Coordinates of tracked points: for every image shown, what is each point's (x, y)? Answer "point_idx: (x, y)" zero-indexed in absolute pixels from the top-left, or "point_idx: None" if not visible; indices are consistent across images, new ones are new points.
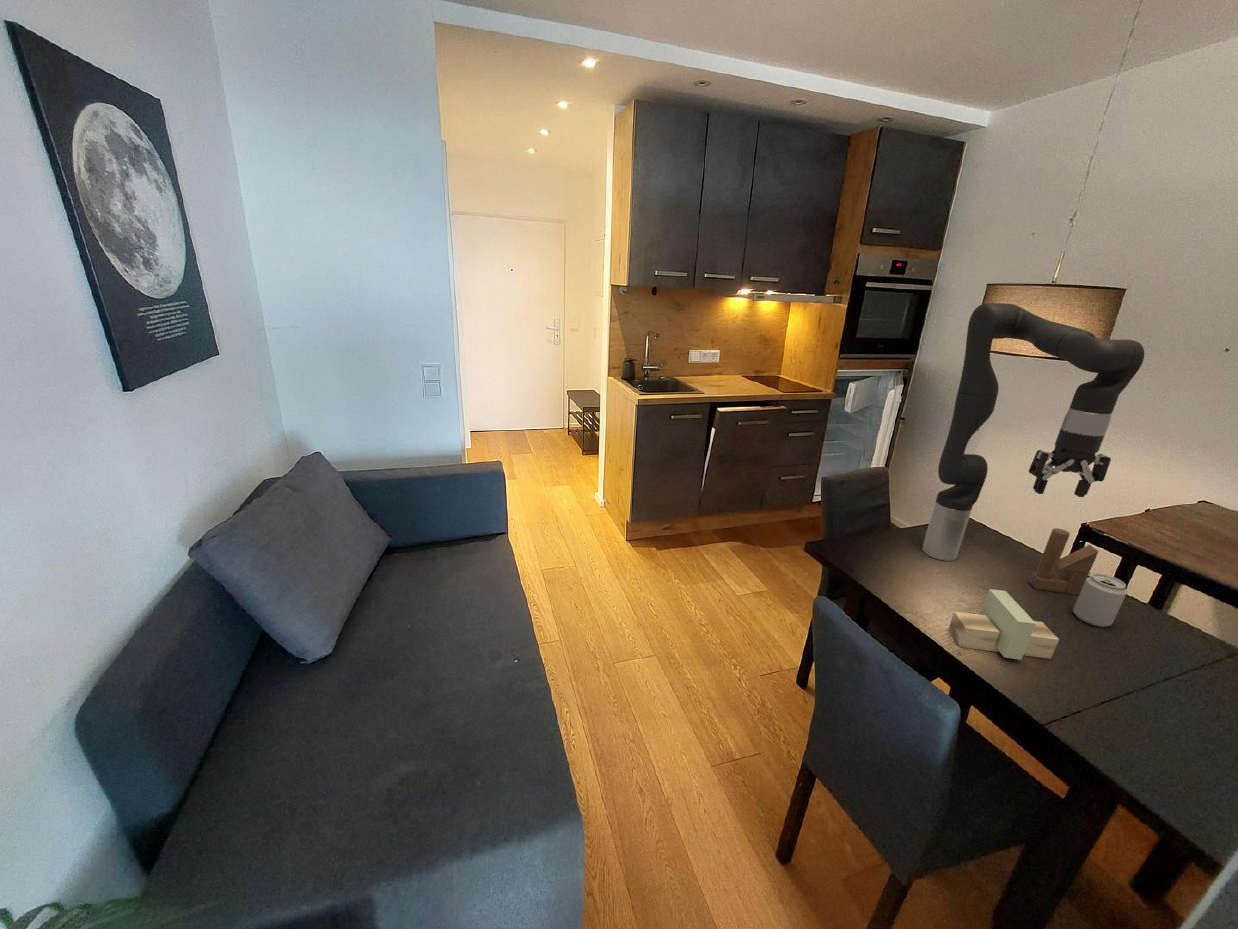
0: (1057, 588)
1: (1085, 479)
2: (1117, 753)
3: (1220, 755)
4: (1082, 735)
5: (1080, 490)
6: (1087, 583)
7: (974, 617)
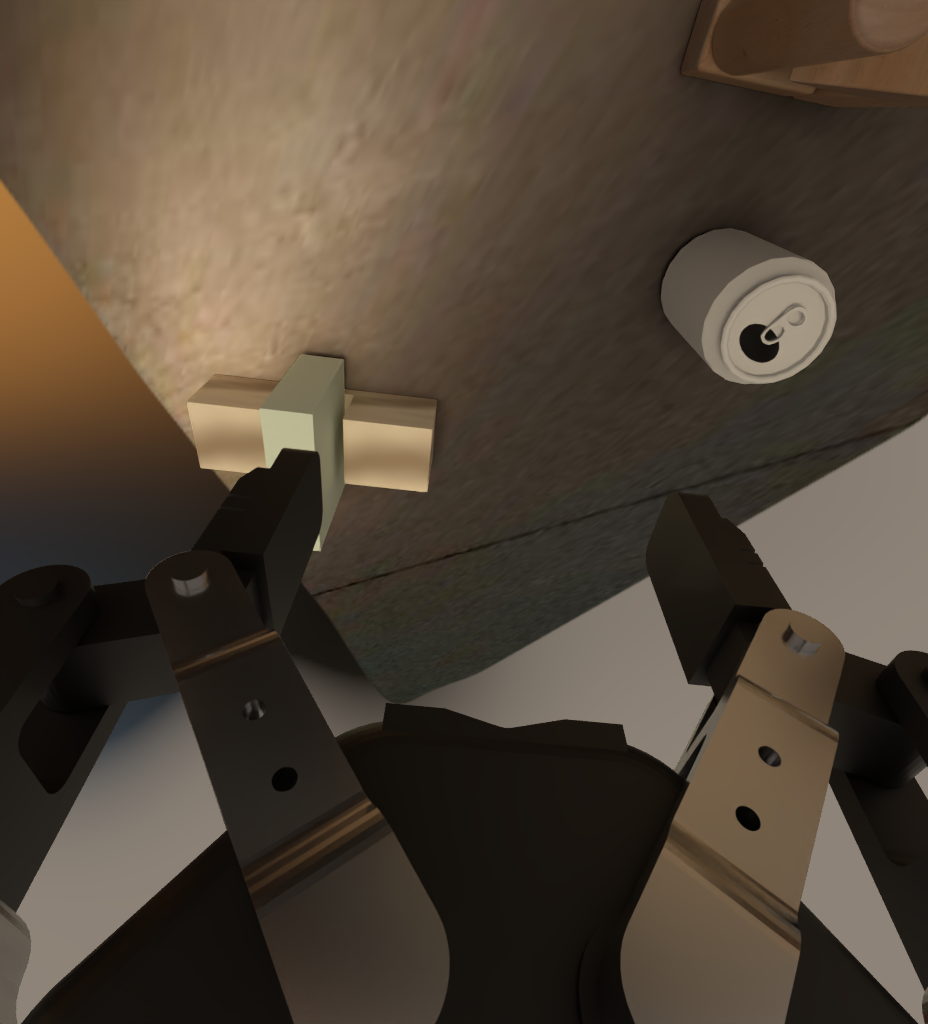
0: (764, 89)
1: (724, 691)
2: (389, 630)
3: (547, 627)
4: (358, 609)
5: (670, 579)
6: (709, 306)
7: (239, 424)
